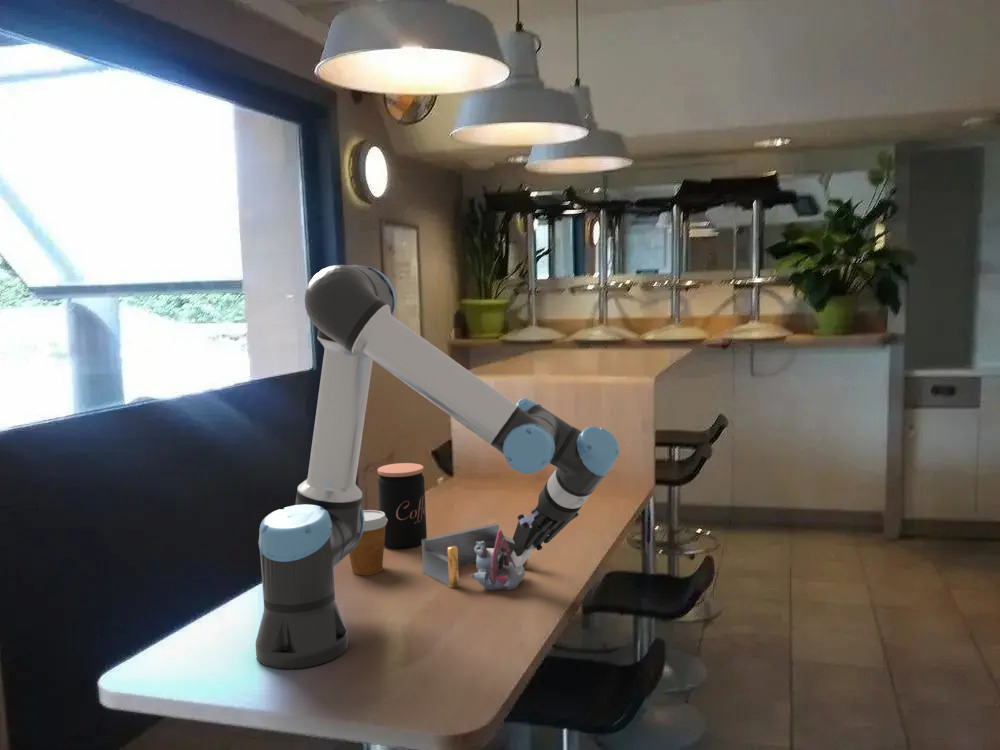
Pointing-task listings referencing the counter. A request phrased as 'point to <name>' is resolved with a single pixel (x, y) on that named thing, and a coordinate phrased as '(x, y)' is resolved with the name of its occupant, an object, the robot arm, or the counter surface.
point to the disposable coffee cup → (370, 544)
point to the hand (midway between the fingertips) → (516, 560)
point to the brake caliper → (496, 566)
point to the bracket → (458, 552)
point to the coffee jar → (403, 504)
